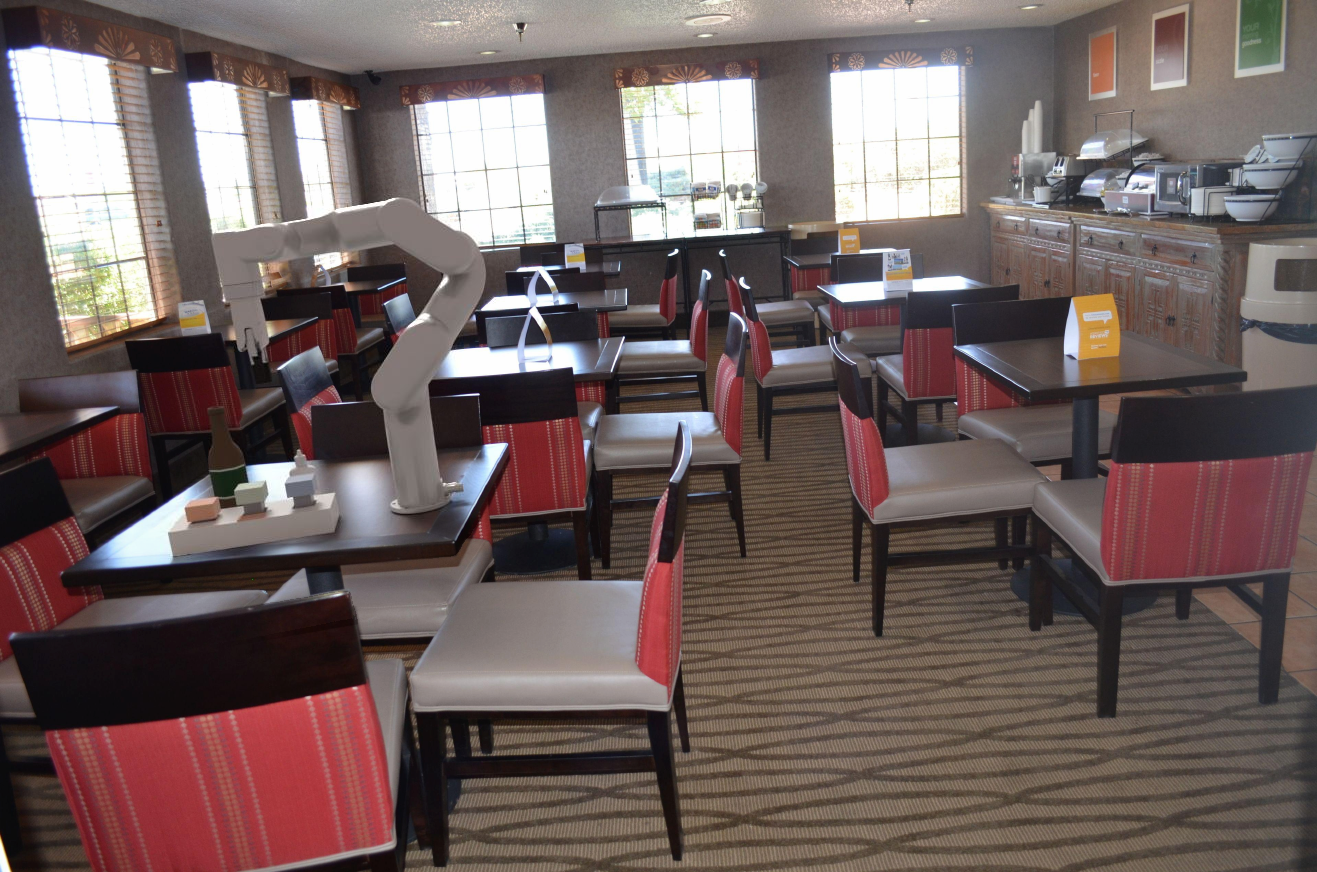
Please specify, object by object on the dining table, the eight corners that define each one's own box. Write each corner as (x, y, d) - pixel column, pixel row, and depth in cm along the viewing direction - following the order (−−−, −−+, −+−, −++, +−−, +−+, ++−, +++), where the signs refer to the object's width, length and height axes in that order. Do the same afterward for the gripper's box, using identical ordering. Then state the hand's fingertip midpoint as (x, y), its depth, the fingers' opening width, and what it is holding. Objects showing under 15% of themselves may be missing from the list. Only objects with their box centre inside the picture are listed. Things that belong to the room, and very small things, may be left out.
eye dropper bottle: (312, 504, 212) (302, 452, 209) (291, 504, 214) (281, 452, 211) (324, 498, 216) (315, 447, 213) (304, 498, 218) (294, 447, 215)
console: (339, 514, 202) (335, 491, 201) (334, 532, 191) (329, 506, 189) (187, 537, 196) (182, 513, 195) (173, 556, 184) (167, 531, 183)
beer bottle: (260, 506, 214) (240, 402, 209) (247, 517, 207) (225, 409, 201) (226, 509, 214) (204, 405, 209) (211, 520, 207) (189, 412, 201)
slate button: (321, 510, 198) (314, 473, 196) (318, 517, 193) (311, 479, 191) (295, 514, 197) (288, 477, 195) (291, 521, 192) (284, 483, 190)
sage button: (273, 517, 196) (265, 480, 194) (269, 525, 191) (261, 486, 189) (246, 521, 195) (238, 484, 193) (241, 529, 190) (233, 490, 188)
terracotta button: (225, 534, 194) (218, 496, 192) (220, 542, 189) (212, 503, 187) (198, 538, 193) (190, 500, 191) (192, 546, 188) (184, 507, 186)
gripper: (230, 293, 196) (250, 380, 200) (217, 297, 182) (238, 391, 186) (269, 288, 198) (287, 374, 202) (258, 292, 184) (279, 385, 188)
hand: (264, 382), depth 194 cm, fingers closed
